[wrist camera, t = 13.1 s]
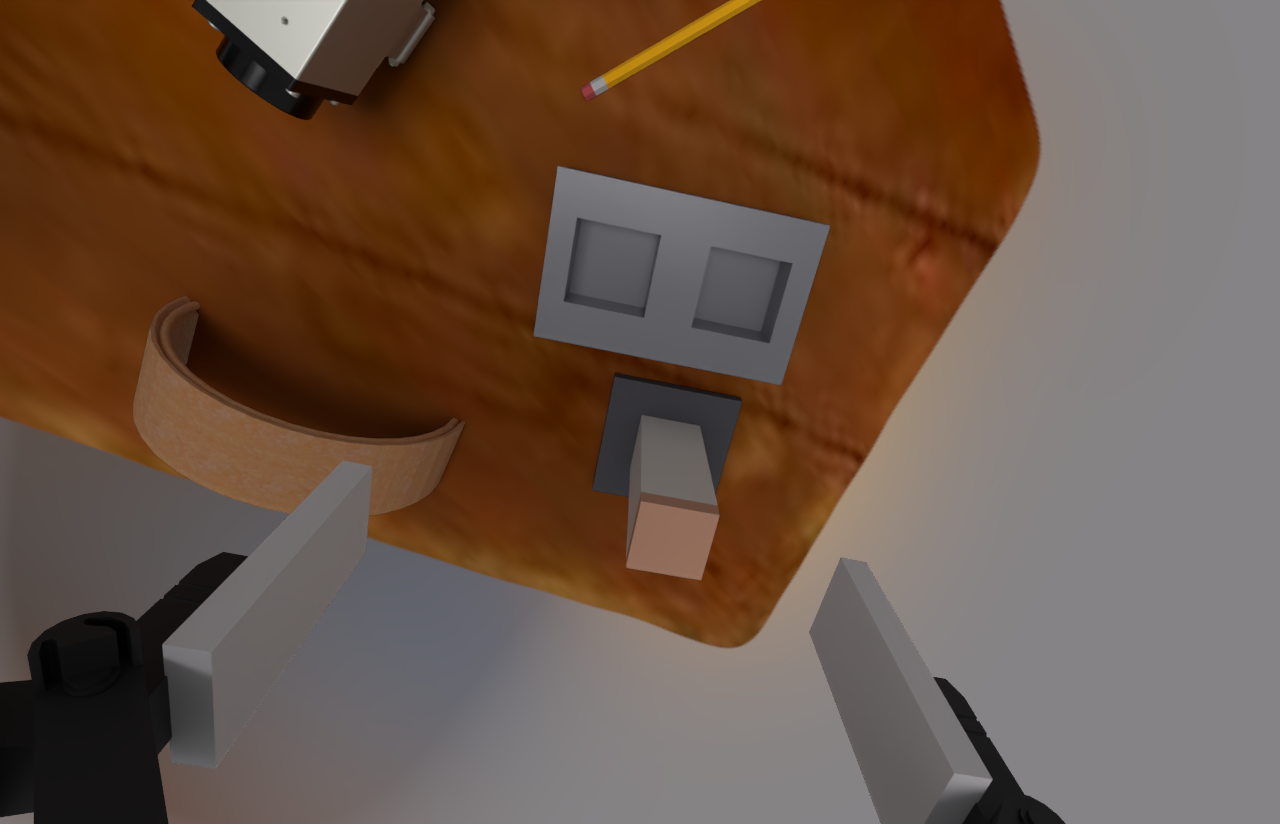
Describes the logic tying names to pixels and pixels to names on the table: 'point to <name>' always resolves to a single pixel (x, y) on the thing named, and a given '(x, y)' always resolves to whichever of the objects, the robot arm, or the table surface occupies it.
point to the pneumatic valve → (313, 45)
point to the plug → (670, 500)
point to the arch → (264, 435)
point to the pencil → (665, 47)
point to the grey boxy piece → (675, 276)
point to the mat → (665, 403)
